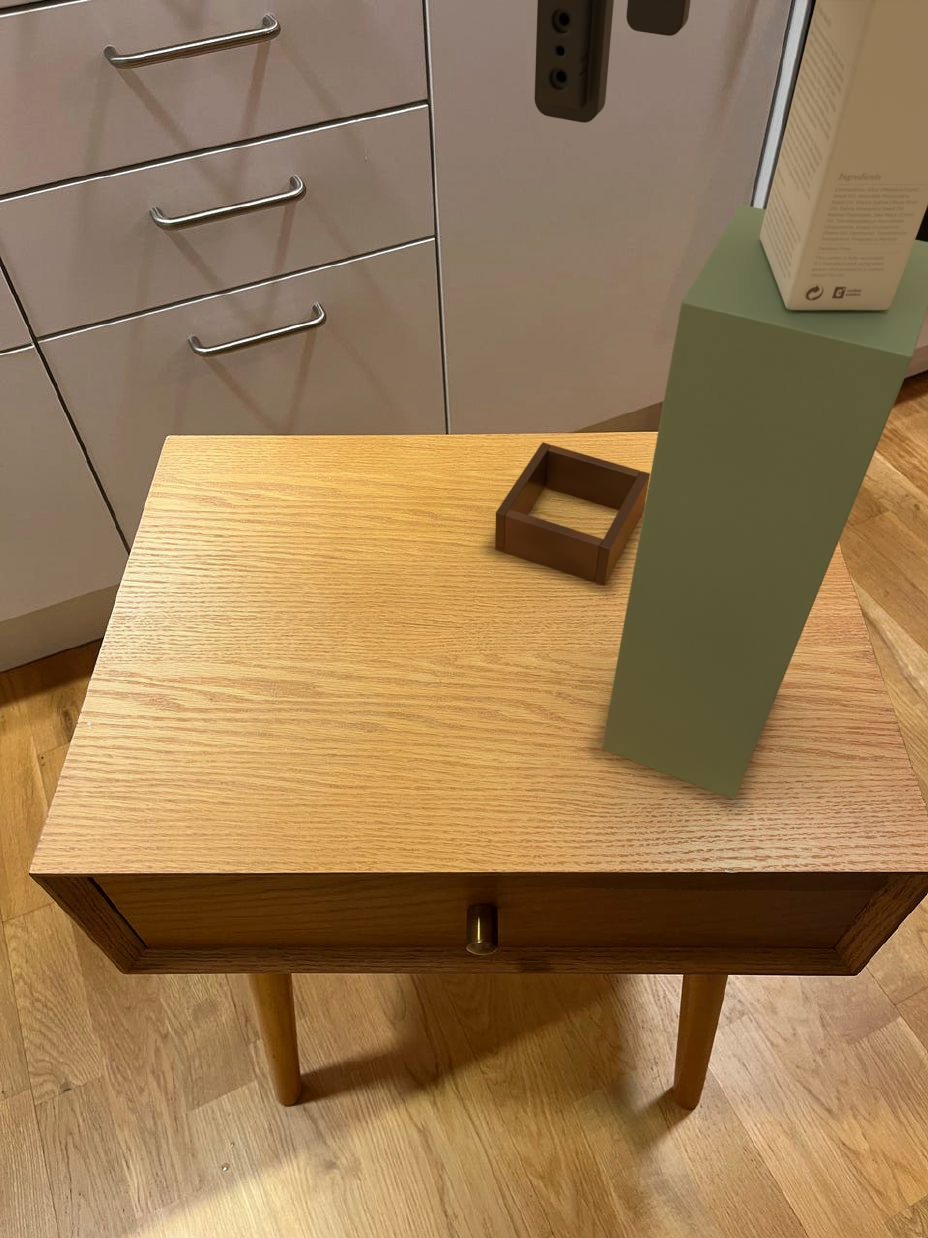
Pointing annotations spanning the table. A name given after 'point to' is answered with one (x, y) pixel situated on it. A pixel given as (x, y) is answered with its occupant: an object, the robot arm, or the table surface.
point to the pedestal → (747, 502)
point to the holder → (562, 543)
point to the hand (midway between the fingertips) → (615, 69)
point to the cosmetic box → (852, 158)
